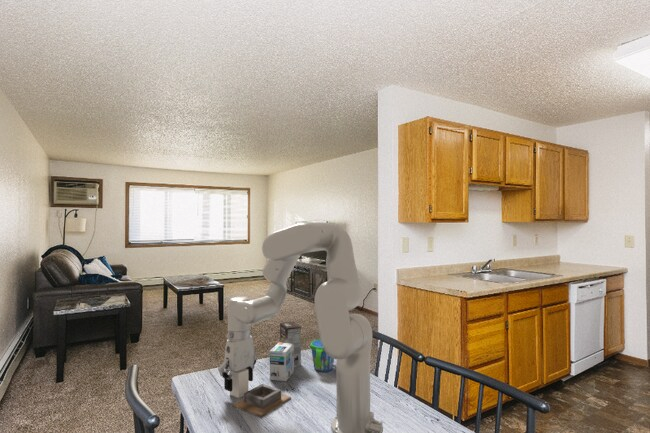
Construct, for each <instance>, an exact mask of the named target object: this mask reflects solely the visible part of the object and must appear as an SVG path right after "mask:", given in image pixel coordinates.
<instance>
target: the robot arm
mask: <svg viewBox="0 0 650 433" xmlns="http://www.w3.org/2000/svg"><path fill="white" fill-rule="evenodd" d="M261 250H262V254H263V256H264V258H266V259H267V261H266V262H265V264H264V267H263V268H262V270H261V271H262V276H263V278H265V280H266V281H267V282H269V283H270V284H269V288H268V290H267V291H266V293H265V295H264V296H262V297H258V298H255V299H254V298H253V299H251V300H250V298H249V297H246V296H235V297H231V298H230V299H229V300H228V302H227V303H228V304H227V334H226V335H225V338H226V339H227V340H226V343H225V348H224V360H223V362H222V363H221V364H220V365H219V367H218V368H217V371H218V372H219V375H220V376H221V377H222V378H223V379H224V380H223V382H224V390H225V391H227V392H229V393H230V392H231V391H232V379H231V377H232V375H233V373H234V372H238V371H240V370H242V369H248V382H253V380H254V369H255V365H256V363H257V359H258V356H259V353H257V352H255V345H254V340H253V336H252V335H251V325H255V324H258V323H260V322H262V321H266V320H268V319H272V318H273V317H274V316H276V315H277V313H279V311H280V309H281V308H282V305H283V303H284V302H285V300H286V297H287V289H288V285H287V281H288V278H289V276H290V275H291V273H292V272H293V270H294V268H295V265H296V264H297V262H298V260H299V259H300V256H301V255H302V254H306V253H313V252H321V251H325V252H326V257H325V258H326V261H325V266H326V272H327V273H326V274H327V281H325V282H322V283H321V284H320V285H319V286H318V288H317V289H316V291H315V294H314V309H315V317H316V322H317V328H318V333H319V339H320V340H321V343H322V346H323V349H324V350H325V352H326V353H327V354H328V355H329V356H330V357H331V358H333V359H334V360H336V370H335V371H336V372H335V374H336V376H335V377H336V384H335V385H336V386H335V387H336V388H335V389H336V416H335V417H334V418H333V419H332V420H331V422H330V429H331V432H332V433H383V431H384V426H383V421H382V420H377V419H376V418H375V414H374V412H373V411H371V353H372V343H373V329H372V325H371V322H370V321H369V319H368V318H367V317H365V316H364V315H362V314H360V313H350V312H349V311H352V310H353V309H355V308H357V307H358V306H359V304H360V303H361V301H362V291H361V286H360V281H359V275H358V274H359V273H358V271H357V266H356V260H355V255H354V248H353V243H352V239H351V237H350V235H349V233H348V232H347V230H345V228H343V227H341V226H340V225H337V224H335V223H330V222H324V221H322V222H321V221H320V222H319V221H318V222H317V221H316V222H315V221H314V222H311V221H310V222H309V221H307V222H300V223H297V224H294V225H291V226H288V227H284V228H283V229H278V230H276V231H274V232H272V233H270V234H268V235H267V236H266V237H265V238H264V240H263V242H262V245H261ZM349 313H350V314H349Z"/></svg>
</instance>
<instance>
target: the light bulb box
mask: <svg viewBox="0 0 650 433" xmlns="http://www.w3.org/2000/svg"><path fill="white" fill-rule="evenodd" d="M294 371H295V367H294V344H291V343H280V342H277V344H276V345H274V346H273V347H272V348H271V349H270V350H269V380H270V381H279V382H287V380H288V379H289V378H290V376H291V375H292V374H293V373H294Z"/></svg>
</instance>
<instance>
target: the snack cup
mask: <svg viewBox="0 0 650 433" xmlns="http://www.w3.org/2000/svg"><path fill="white" fill-rule="evenodd" d="M309 347H310V350H311V355H312V356H311V357H312V361H313V362H312V363H313V367H314V370H316V371H318V372H321V373H322V372H330V371H331V370H333V367H334V362H335V359H333V358H331V357H330V356H329V355H328V354H327V353H326V352H325V350H324V349H323V346H322V343H321V340H320V338H319V339H315V340H312V341H311V342H310V345H309Z"/></svg>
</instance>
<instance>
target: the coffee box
mask: <svg viewBox="0 0 650 433" xmlns="http://www.w3.org/2000/svg"><path fill="white" fill-rule="evenodd" d="M279 339H280V341H279V343H291V344H294V368H296V367H300V366H302V326H300V325H299V324H298V323H296V322H295V321H284V322H283V321H282V322H280V323H279Z"/></svg>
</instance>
